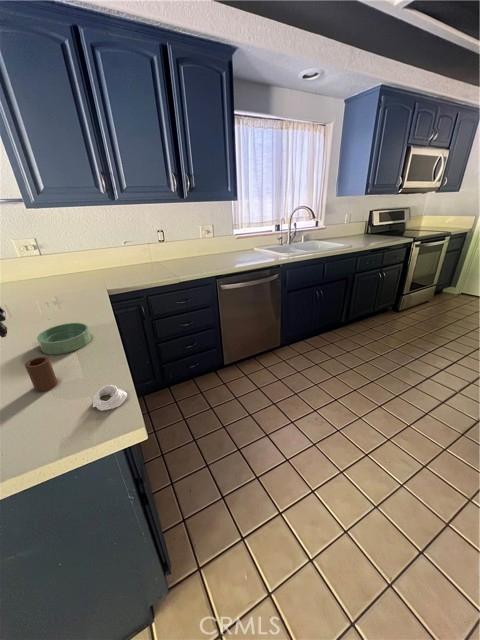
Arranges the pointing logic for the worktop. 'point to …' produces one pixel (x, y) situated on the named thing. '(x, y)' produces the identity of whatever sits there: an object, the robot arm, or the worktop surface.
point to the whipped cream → (113, 401)
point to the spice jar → (41, 373)
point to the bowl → (64, 338)
